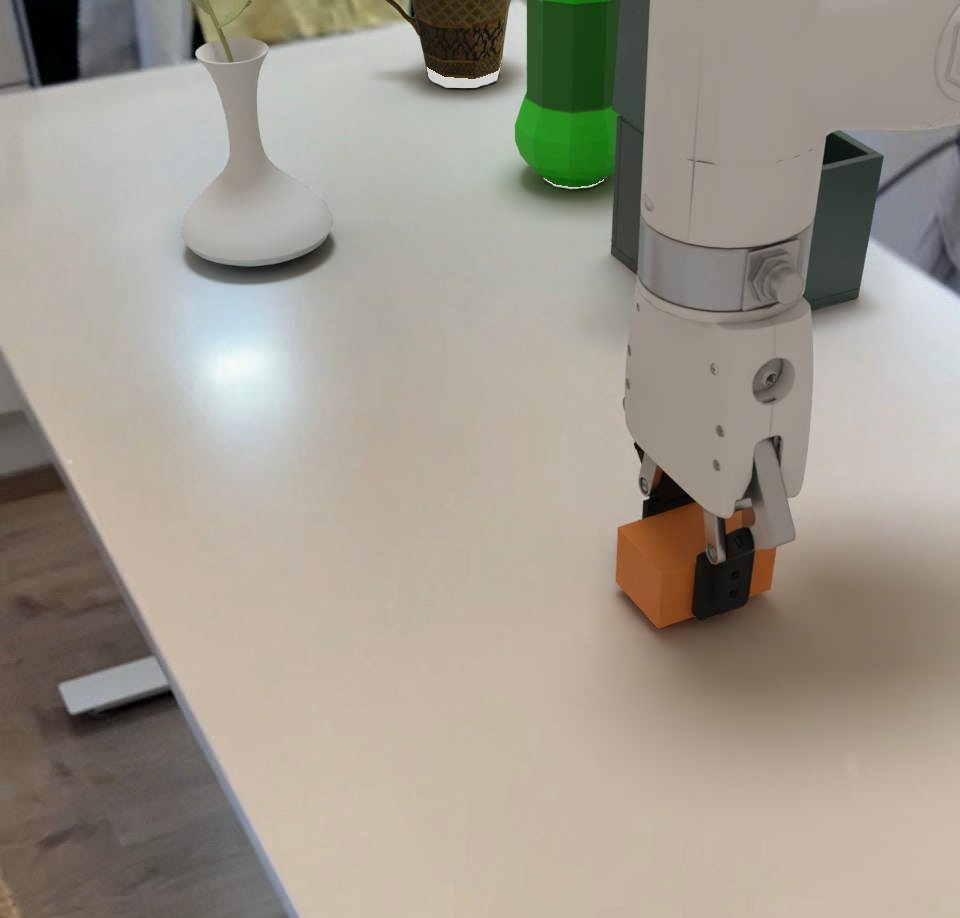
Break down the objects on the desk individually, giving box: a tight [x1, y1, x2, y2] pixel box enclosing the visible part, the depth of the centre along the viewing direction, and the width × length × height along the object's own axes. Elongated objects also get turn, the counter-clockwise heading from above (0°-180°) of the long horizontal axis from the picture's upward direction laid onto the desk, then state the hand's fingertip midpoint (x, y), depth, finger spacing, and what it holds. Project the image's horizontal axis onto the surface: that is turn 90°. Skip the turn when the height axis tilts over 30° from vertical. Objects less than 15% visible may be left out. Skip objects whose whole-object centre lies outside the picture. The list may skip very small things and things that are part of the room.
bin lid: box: [612, 0, 650, 131], centre depth 87 cm, size 13×14×5 cm
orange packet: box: [615, 502, 778, 629], centre depth 74 cm, size 7×5×4 cm, turn 116°
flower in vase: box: [180, 0, 334, 267], centre depth 97 cm, size 13×11×25 cm
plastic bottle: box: [514, 0, 620, 187], centre depth 104 cm, size 10×10×25 cm
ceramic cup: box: [384, 0, 512, 79], centre depth 125 cm, size 13×10×10 cm
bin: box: [610, 115, 885, 311], centre depth 97 cm, size 12×14×10 cm
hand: (693, 579), depth 75 cm, fingers closed on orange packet, 4 cm apart
